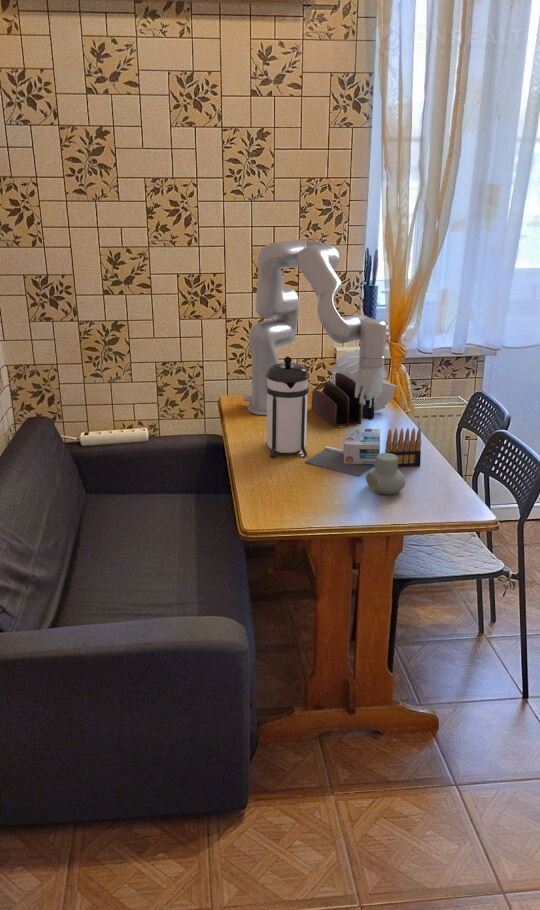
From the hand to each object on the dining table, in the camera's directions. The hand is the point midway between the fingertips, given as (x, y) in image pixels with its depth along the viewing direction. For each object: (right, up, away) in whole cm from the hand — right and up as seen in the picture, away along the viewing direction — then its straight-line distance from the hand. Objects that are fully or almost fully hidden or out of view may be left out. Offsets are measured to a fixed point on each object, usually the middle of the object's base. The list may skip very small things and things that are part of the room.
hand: (367, 418), depth 238 cm
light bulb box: (-2, -6, -4) cm, 7 cm away
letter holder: (-8, +1, +28) cm, 29 cm away
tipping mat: (-9, -14, -10) cm, 19 cm away
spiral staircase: (+3, +7, +41) cm, 41 cm away
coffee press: (-26, -10, 0) cm, 28 cm away
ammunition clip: (+9, -15, -11) cm, 21 cm away
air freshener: (+1, -21, -27) cm, 34 cm away
